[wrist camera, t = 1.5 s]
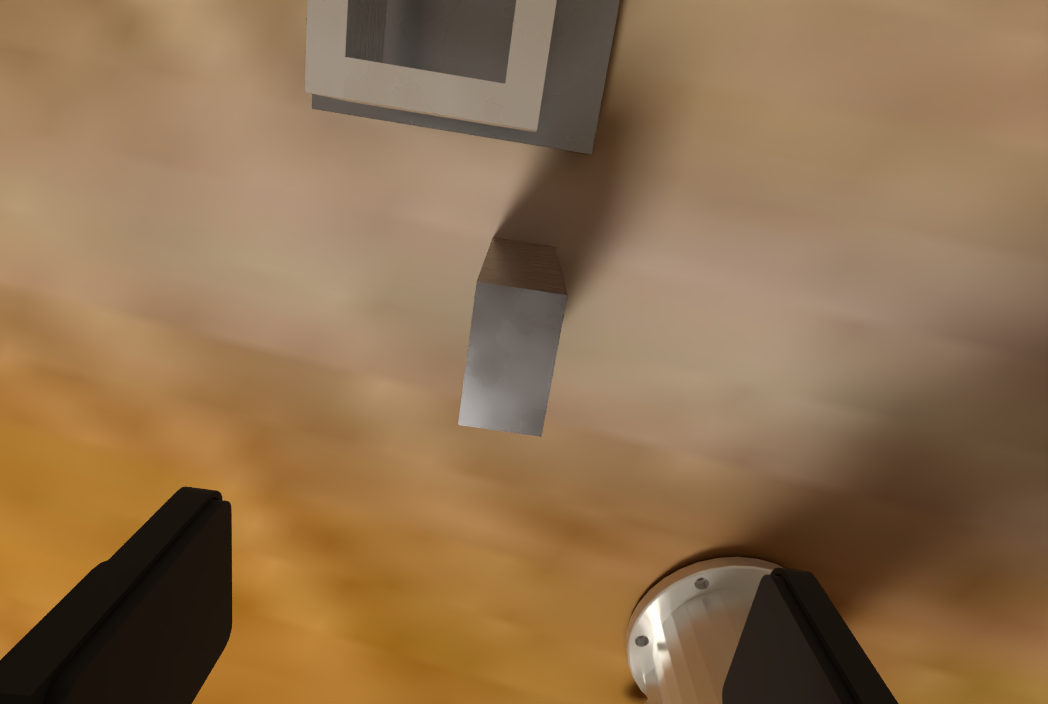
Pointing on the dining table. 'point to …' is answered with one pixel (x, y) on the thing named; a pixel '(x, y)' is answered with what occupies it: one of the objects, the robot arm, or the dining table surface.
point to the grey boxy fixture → (465, 65)
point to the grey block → (513, 338)
